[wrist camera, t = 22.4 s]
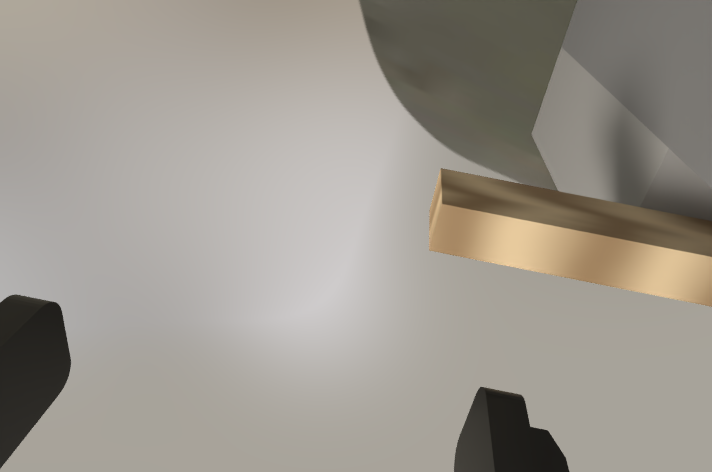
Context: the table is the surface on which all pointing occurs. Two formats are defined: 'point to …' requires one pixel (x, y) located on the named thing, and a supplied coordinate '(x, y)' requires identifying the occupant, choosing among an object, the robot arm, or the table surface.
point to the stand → (633, 105)
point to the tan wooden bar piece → (572, 236)
